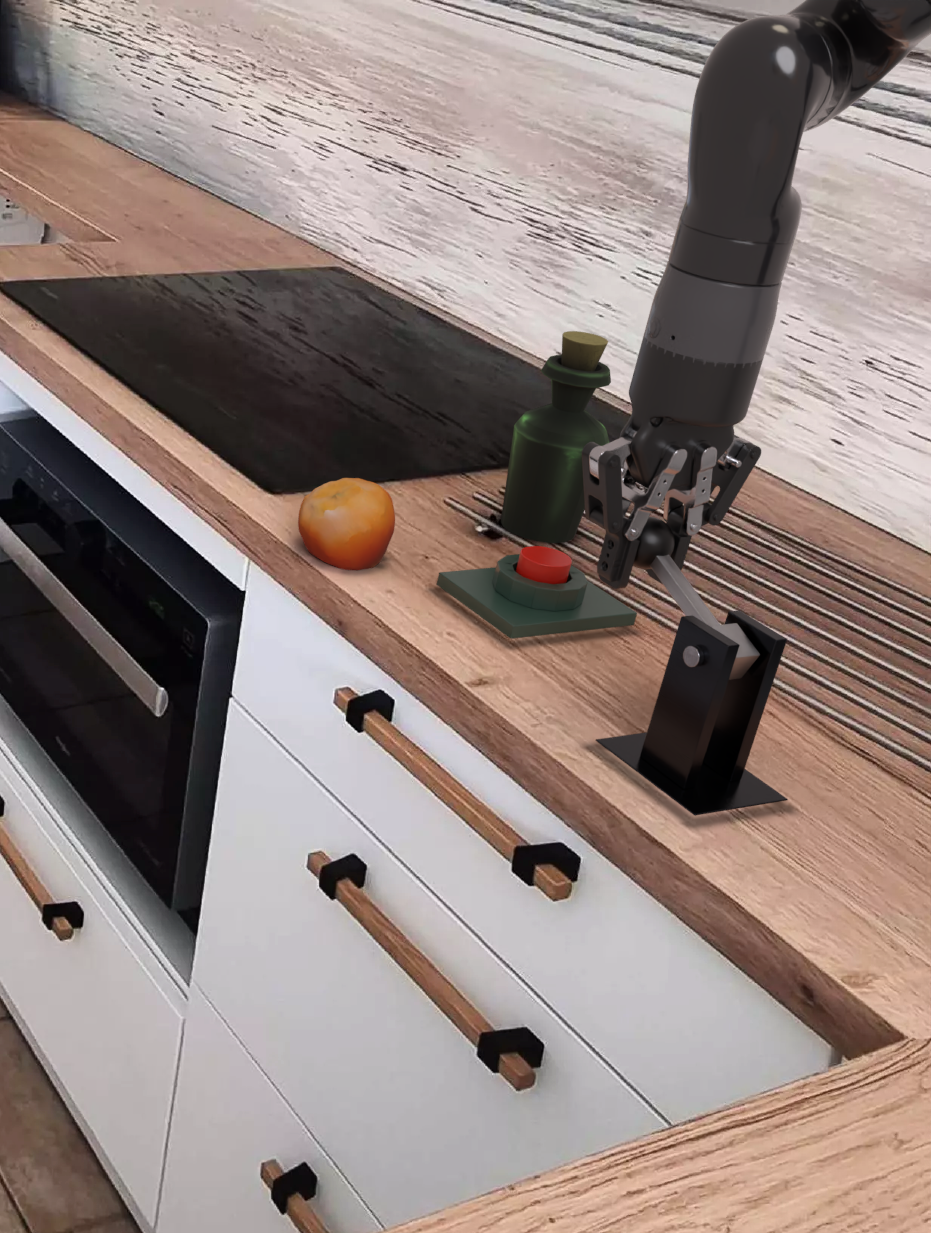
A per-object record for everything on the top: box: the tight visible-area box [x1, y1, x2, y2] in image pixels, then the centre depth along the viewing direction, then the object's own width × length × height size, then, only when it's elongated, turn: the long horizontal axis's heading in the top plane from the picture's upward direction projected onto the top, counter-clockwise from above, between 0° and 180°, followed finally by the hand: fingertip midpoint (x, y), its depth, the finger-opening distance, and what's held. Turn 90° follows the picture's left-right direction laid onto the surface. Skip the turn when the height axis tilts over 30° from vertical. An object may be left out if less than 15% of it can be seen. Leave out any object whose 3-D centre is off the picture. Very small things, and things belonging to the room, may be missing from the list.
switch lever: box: [633, 516, 760, 680], centre depth 119 cm, size 13×4×4 cm, turn 24°
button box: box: [436, 553, 638, 640], centre depth 142 cm, size 12×10×4 cm
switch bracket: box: [595, 609, 789, 816], centre depth 118 cm, size 10×8×12 cm
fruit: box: [297, 477, 396, 571], centre depth 148 cm, size 8×8×8 cm
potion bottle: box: [500, 330, 612, 544], centre depth 155 cm, size 8×8×18 cm
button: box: [516, 545, 573, 584], centre depth 141 cm, size 4×4×2 cm
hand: (636, 580), depth 123 cm, fingers closed on switch lever, 3 cm apart
